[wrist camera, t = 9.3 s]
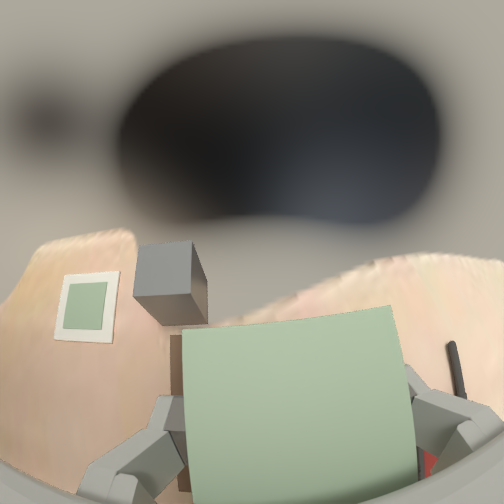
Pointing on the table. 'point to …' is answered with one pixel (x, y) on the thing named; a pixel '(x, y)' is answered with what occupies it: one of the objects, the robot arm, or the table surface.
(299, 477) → the sage block
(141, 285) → the grey block
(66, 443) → the table surface
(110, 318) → the swatch
